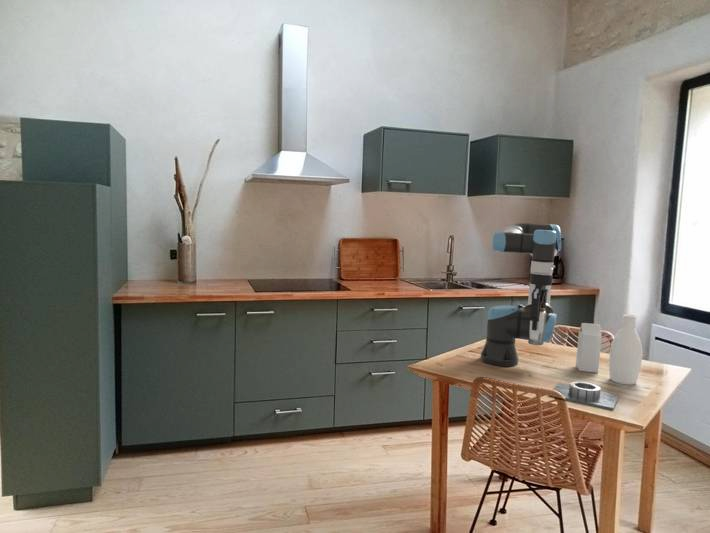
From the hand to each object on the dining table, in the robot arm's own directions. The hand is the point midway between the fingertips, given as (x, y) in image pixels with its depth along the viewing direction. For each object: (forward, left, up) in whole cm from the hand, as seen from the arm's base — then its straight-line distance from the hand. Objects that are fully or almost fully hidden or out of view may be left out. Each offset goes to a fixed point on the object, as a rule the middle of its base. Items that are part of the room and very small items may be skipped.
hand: (536, 337), depth 193 cm
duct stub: (0, 0, -2) cm, 2 cm away
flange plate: (+18, -2, -17) cm, 25 cm away
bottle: (+27, +28, -17) cm, 42 cm away
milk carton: (+13, +35, -17) cm, 41 cm away
